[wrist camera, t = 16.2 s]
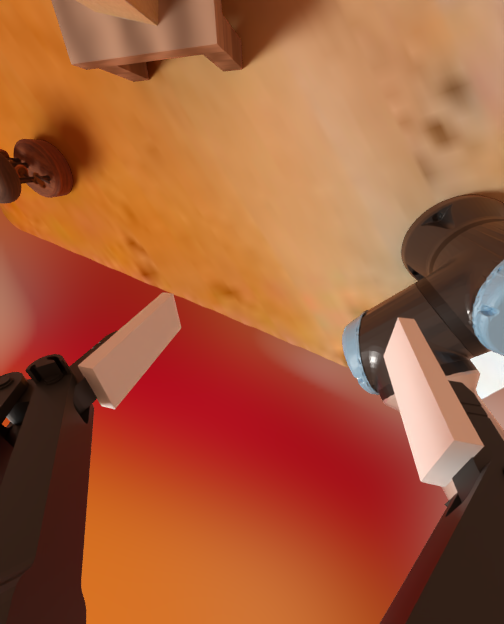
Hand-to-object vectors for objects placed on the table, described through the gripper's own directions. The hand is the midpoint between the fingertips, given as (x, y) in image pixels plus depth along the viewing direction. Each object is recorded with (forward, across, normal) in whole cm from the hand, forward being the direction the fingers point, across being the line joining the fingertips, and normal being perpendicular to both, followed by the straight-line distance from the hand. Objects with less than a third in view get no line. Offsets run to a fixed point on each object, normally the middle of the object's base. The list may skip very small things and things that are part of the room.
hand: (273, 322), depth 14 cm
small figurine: (+37, +55, -7) cm, 67 cm away
